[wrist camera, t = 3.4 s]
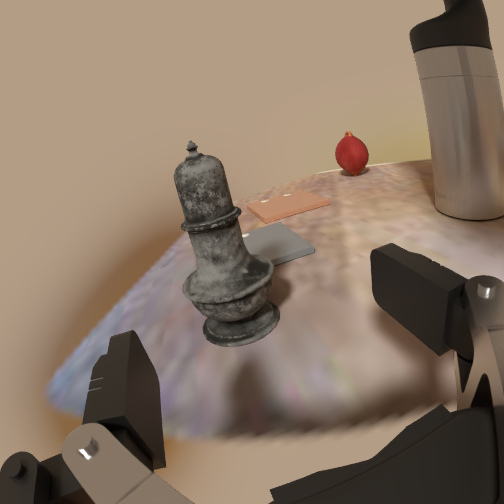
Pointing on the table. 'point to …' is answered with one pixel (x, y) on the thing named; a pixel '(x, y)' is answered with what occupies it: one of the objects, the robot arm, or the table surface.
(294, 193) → the tile two
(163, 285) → the table surface
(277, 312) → the salt shaker
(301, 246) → the tile one
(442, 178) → the robot arm
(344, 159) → the onion
